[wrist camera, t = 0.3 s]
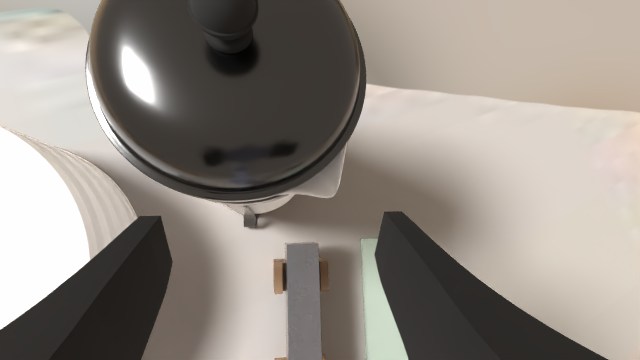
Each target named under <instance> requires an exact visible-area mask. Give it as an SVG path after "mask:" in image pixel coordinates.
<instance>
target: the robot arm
mask: <svg viewBox="0 0 640 360" xmlns="http://www.w3.org/2000/svg"><path fill="white" fill-rule="evenodd" d="M374 255H375V260H376V264H377V269H378V273H379V277H380V281H381V284H382V287H383V290H384V293H385V295H386V298H387V301H388V304H389V306H390V309H391V312H392V314H393V317H394V320H395V323H396V325H397V328H398V331H399V333H400V336H401V339H402V341H403V344H404V347H405V350H406V353H407V356H408V360H608V359H606V358H604V357H602V356H600V355H598V354H596V353H595V352H593V351H591V350H589V349H587V348H585V347H584V346H582V345H580V344H578V343H576V342H575V341H573V340H571V339H569V338H567V337H566V336H564V335H562V334H560V333H559V332H557V331H555V330H554V329H552V328H550V327H548V326H547V325H545V324H544V323H542V322H540V321H539V320H537V319H536V318H534V317H532V316H531V315H529V314H528V313H526V312H524V311H523V310H521V309H520V308H518V307H517V306H515V305H514V304H512V303H511V302H509V301H508V300H506V299H505V298H504V297H502V296H501V295H499V294H498V293H497V292H495V291H494V290H492V289H491V288H490V287H488V286H487V285H486V284H484V283H483V282H482V281H480V280H479V279H478V278H476V277H475V276H474V275H473V274H471V273H470V272H469V271H468V270H466V269H465V268H464V267H463V266H461V265H460V264H459V263H458V262H457V261H456V260H454V259H453V258H452V257H451V256H450V255H449V254H447V253H446V252H445V251H444V250H443V249H442V248H441V247H440V246H438V245H437V244H436V243H435V242H434V241H433V240H432V239H431V238H430V237H429V236H428V235H426V234H425V233H424V232H423V231H422V230H421V229H420V228H419V227H418V226H417V225H416V224H415V223H414V222H413V221H412V220H410V219H409V218H408V217H407V216H406V215H405V214H404V213H403V212H402V211H401V212H384V216H383V220H382V224H381V228H380V233H379V237H378V241H377V245H376V250H375V254H374ZM171 267H172V258H171V255H170V251H169V247H168V243H167V239H166V235H165V231H164V227H163V224H162V220H161V216H139V217H138V218H137V219H136V220H135V221H134V222H133V223H131V224H130V225H129V226H128V227H127V228H126V229H125V230H124V231H123V232H121V233H120V234H119V235H118V236H117V237H116V238H115V239H114V240H113V241H111V242H110V243H109V244H108V245H107V246H106V247H105V248H104V249H103V250H101V251H100V252H99V253H98V254H97V255H96V256H95V257H93V258H92V259H91V260H90V261H89V262H88V263H86V264H85V265H84V266H83V267H82V268H81V269H79V270H78V271H77V272H76V273H74V274H73V275H72V276H71V277H70V278H68V279H67V280H66V281H65V282H63V283H62V284H61V285H60V286H58V287H57V288H56V289H55V290H53V291H52V292H51V293H50V294H48V295H47V296H46V297H45V298H43V299H42V300H41V301H39V302H38V303H37V304H35V305H34V306H33V307H31V308H30V309H29V310H27V311H26V312H25V313H23V314H22V315H20V316H19V317H18V318H16V319H15V320H13V321H12V322H10V323H9V324H8V325H6V326H5V327H3V328H2V329H0V360H141V358H142V356H143V353H144V350H145V348H146V345H147V342H148V339H149V337H150V334H151V331H152V329H153V326H154V323H155V321H156V318H157V315H158V312H159V310H160V307H161V304H162V301H163V298H164V296H165V293H166V289H167V285H168V280H169V276H170V271H171Z"/></svg>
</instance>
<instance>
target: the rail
mask: <svg viewBox="0 0 640 360" xmlns="http://www.w3.org/2000/svg"><path fill="white" fill-rule="evenodd" d="M285 276H286V344H287V360H322V348H321V315H320V281H319V248H318V243H315V242H303V243H285Z"/></svg>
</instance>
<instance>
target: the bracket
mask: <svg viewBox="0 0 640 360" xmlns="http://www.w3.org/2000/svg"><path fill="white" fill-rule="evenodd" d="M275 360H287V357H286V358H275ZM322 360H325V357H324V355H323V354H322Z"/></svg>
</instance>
